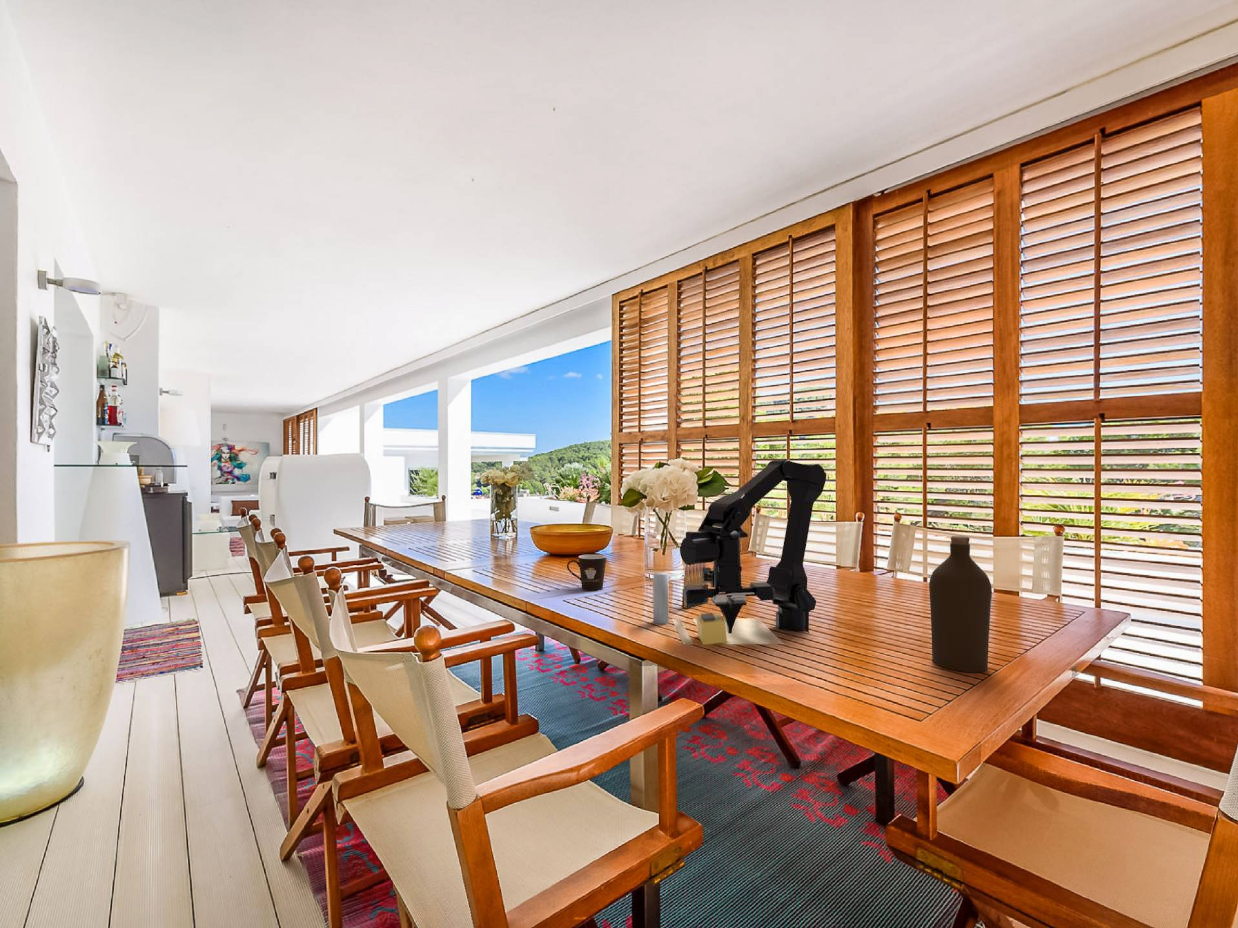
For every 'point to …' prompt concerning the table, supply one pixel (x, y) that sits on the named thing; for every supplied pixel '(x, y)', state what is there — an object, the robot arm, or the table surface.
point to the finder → (711, 628)
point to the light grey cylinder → (661, 598)
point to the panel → (737, 632)
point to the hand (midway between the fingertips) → (729, 632)
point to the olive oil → (960, 611)
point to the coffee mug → (590, 571)
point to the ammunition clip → (694, 581)
